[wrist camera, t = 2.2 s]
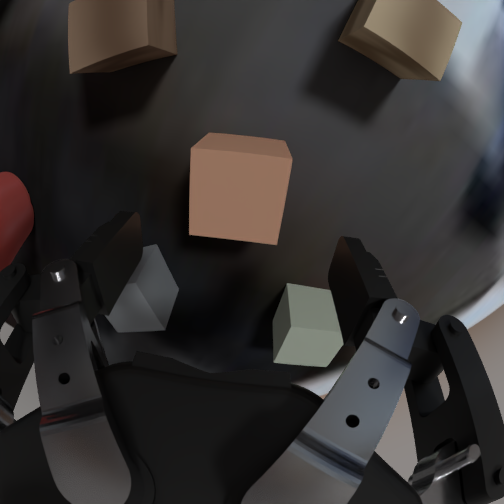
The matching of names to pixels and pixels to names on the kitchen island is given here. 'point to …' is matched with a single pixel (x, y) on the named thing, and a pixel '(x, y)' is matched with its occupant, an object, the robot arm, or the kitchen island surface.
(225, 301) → the kitchen island surface
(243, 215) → the terracotta cube
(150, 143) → the kitchen island surface
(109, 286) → the robot arm
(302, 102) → the kitchen island surface
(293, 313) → the sage cube
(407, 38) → the oak cube
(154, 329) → the slate cube
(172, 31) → the walnut cube
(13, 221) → the flower pot
